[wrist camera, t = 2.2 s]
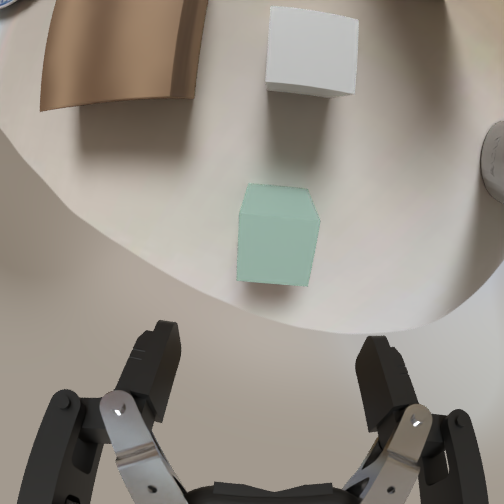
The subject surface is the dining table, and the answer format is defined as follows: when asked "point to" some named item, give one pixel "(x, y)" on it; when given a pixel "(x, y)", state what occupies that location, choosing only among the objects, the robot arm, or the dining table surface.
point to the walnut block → (121, 51)
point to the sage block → (276, 235)
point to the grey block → (311, 52)
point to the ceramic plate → (6, 3)
